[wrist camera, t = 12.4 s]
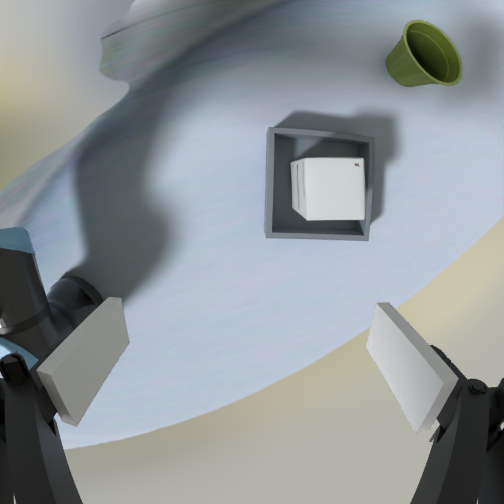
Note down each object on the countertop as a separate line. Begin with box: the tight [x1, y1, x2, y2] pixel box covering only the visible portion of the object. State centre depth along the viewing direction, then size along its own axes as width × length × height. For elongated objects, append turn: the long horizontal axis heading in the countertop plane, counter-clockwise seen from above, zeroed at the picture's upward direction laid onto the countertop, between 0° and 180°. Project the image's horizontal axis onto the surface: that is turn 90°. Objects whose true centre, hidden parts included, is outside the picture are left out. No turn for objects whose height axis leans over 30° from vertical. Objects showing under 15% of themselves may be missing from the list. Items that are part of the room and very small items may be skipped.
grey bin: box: [264, 127, 374, 241], centre depth 40 cm, size 16×16×5 cm
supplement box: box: [290, 157, 365, 221], centre depth 36 cm, size 7×7×13 cm
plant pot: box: [386, 20, 462, 87], centre depth 31 cm, size 12×12×11 cm
